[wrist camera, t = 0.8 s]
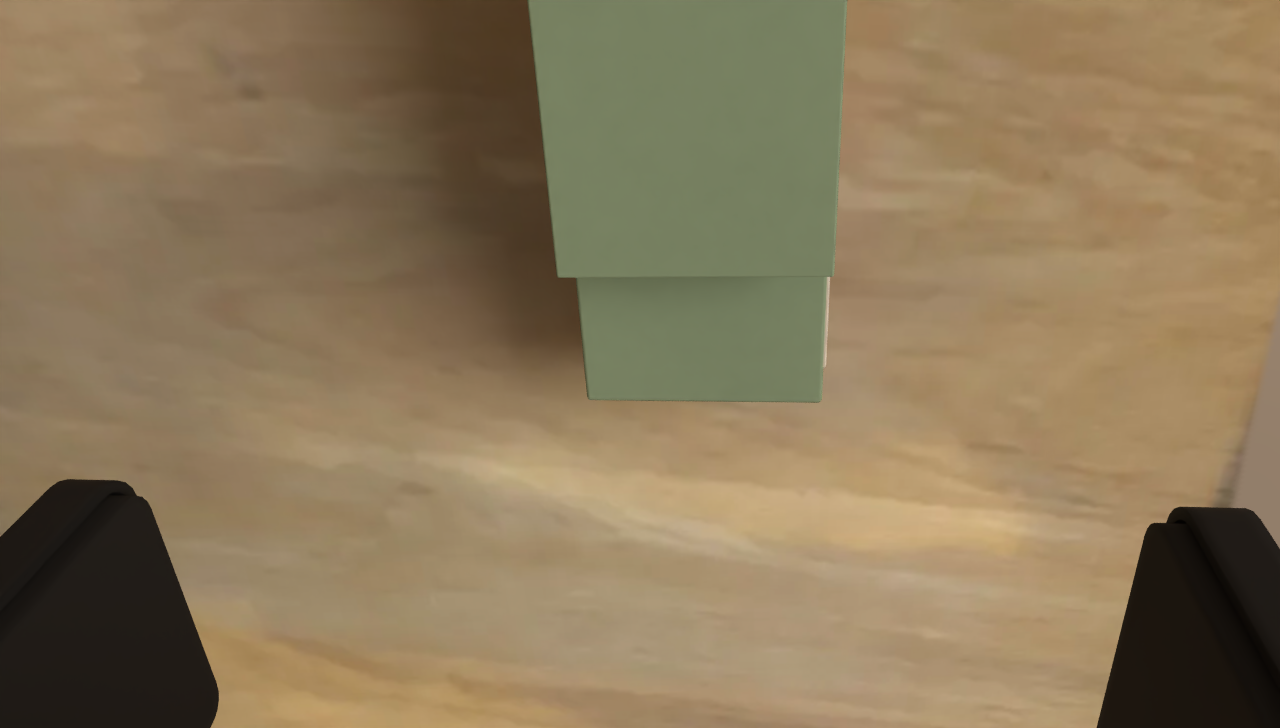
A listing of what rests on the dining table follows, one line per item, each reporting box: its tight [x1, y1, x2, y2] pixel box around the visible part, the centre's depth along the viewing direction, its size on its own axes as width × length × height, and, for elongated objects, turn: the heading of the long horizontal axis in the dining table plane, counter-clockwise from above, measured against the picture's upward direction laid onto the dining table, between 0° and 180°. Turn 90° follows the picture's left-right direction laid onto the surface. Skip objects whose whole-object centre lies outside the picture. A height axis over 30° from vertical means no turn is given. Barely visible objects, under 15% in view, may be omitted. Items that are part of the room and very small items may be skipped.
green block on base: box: [527, 0, 847, 403], centre depth 23 cm, size 16×6×6 cm, turn 3°
